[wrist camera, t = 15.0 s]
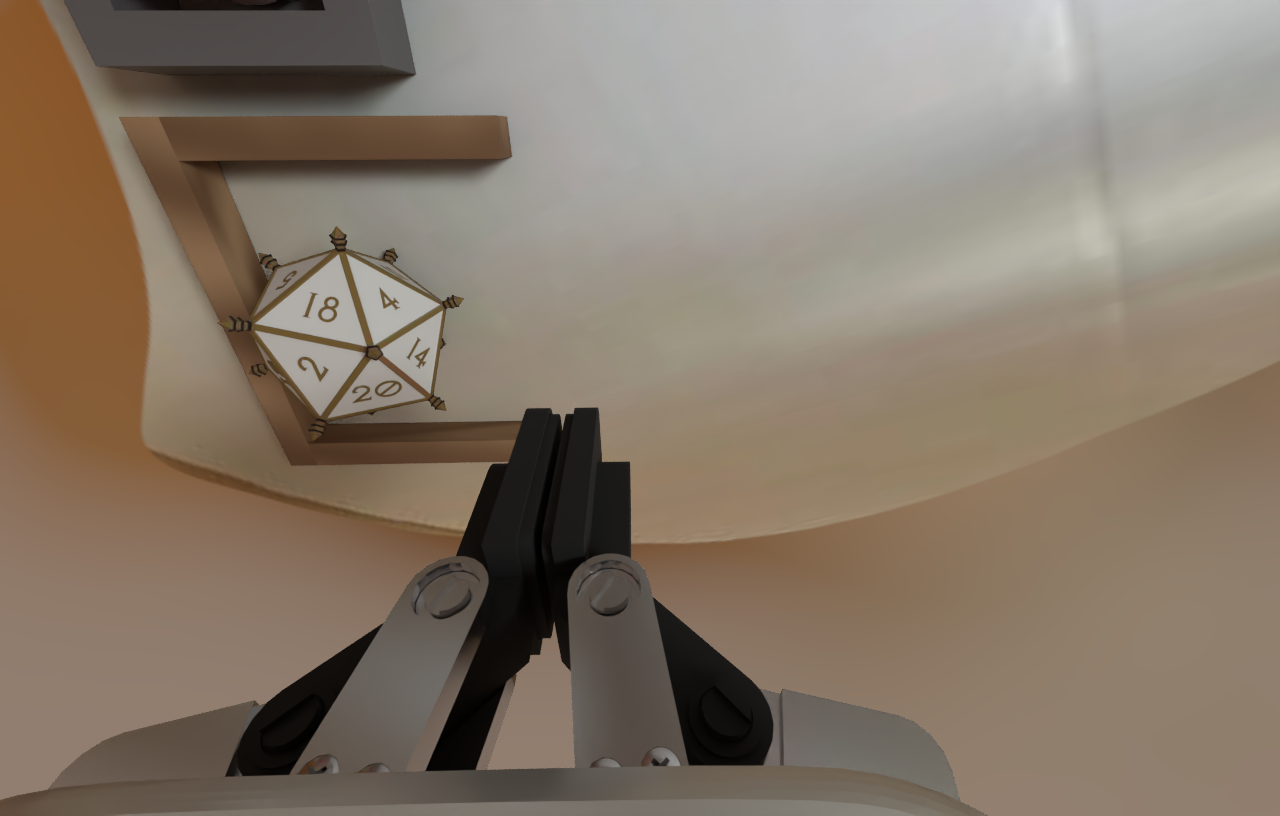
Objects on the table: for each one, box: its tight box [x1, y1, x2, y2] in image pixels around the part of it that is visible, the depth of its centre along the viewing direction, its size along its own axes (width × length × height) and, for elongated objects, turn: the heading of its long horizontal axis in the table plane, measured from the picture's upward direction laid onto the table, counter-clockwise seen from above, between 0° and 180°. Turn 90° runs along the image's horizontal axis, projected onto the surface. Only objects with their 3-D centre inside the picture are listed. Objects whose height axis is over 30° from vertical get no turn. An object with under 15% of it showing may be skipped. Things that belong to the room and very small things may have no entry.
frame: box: [119, 116, 522, 466], centre depth 23 cm, size 17×14×2 cm
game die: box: [218, 226, 464, 441], centre depth 21 cm, size 9×8×10 cm
